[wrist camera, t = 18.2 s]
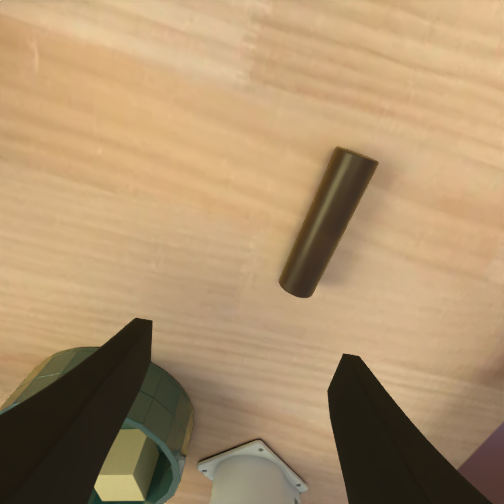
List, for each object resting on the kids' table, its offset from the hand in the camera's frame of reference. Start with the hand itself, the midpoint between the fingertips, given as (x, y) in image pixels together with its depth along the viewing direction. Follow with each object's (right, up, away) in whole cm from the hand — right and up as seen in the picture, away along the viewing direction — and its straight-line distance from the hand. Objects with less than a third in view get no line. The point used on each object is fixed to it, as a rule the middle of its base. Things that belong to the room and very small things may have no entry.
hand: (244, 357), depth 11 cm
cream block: (-11, -15, +18) cm, 26 cm away
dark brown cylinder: (+3, +2, +9) cm, 9 cm away
